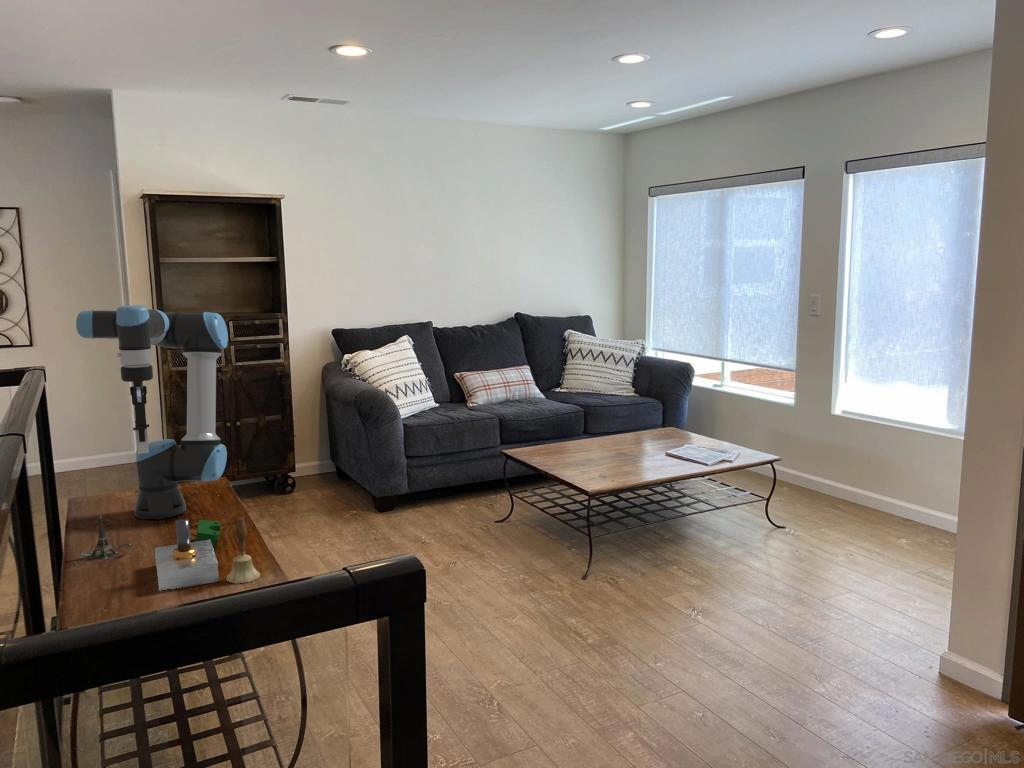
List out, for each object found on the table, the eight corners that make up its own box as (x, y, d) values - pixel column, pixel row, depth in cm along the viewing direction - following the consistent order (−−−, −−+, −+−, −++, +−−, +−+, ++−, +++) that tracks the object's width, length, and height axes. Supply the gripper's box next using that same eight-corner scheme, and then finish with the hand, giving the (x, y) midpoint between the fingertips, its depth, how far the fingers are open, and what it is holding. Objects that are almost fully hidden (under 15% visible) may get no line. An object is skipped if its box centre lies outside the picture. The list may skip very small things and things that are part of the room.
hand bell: (231, 571, 206) (227, 513, 203) (263, 570, 207) (260, 512, 204) (222, 584, 198) (218, 524, 195) (255, 583, 198) (252, 523, 196)
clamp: (213, 563, 222) (218, 539, 218) (191, 560, 220) (196, 536, 216) (218, 534, 232) (223, 511, 228) (197, 531, 230) (202, 508, 226)
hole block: (156, 565, 209) (154, 547, 208) (211, 556, 215) (210, 539, 215) (159, 591, 193) (157, 572, 193) (218, 581, 200) (217, 562, 199)
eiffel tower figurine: (131, 545, 225) (127, 500, 223) (136, 556, 217) (133, 510, 214) (72, 556, 217) (67, 510, 215) (75, 568, 209) (70, 520, 206)
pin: (173, 570, 206) (169, 518, 203) (196, 566, 208) (193, 515, 206) (174, 578, 201) (171, 525, 198) (198, 574, 203) (194, 522, 201)
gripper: (120, 362, 207) (127, 448, 211) (120, 369, 196) (127, 460, 200) (151, 361, 211) (157, 445, 215) (153, 367, 199) (159, 457, 203)
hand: (143, 452), depth 207 cm, fingers closed
